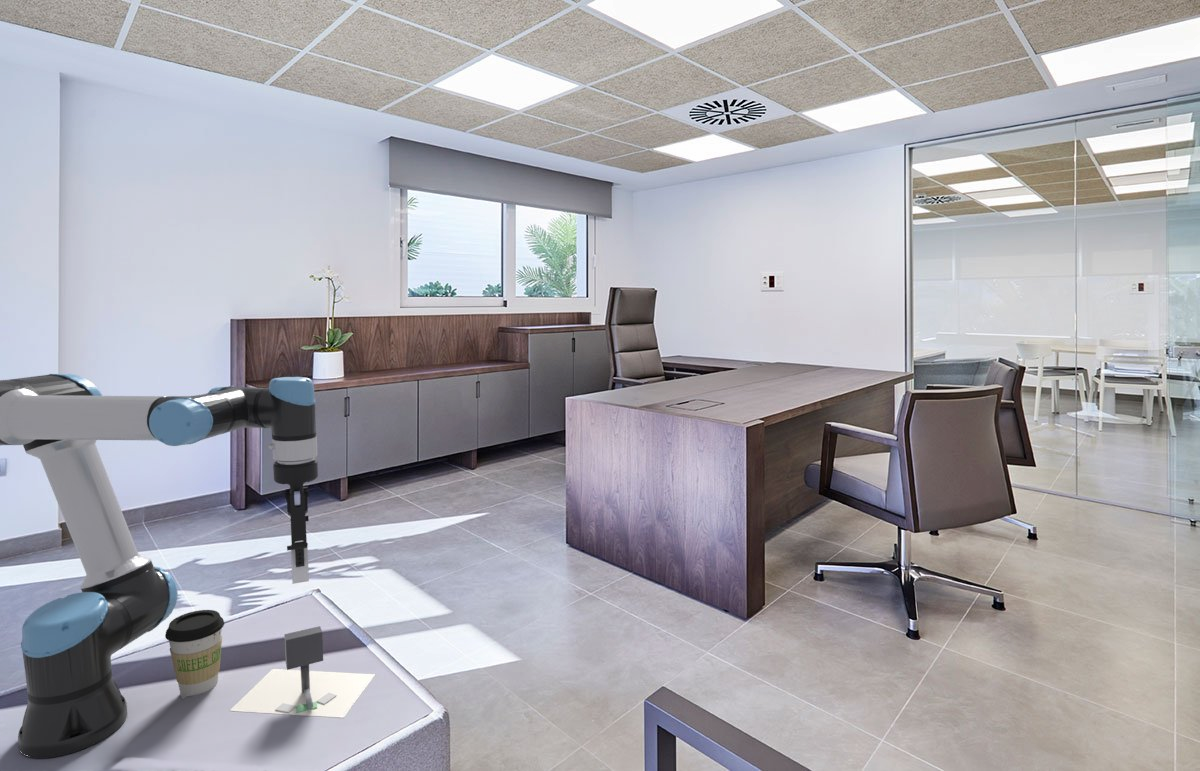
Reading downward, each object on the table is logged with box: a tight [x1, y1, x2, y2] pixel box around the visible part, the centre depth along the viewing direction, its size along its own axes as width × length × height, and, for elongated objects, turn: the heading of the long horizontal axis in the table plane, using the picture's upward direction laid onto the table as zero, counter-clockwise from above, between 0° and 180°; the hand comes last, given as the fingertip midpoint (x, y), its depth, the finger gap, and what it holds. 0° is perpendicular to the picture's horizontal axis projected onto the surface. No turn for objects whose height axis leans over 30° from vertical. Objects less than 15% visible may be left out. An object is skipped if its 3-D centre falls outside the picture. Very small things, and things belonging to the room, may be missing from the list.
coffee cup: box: [164, 609, 225, 700], centre depth 126 cm, size 10×10×15 cm
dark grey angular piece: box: [283, 625, 324, 709], centre depth 122 cm, size 8×6×12 cm
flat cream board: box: [229, 668, 376, 719], centre depth 125 cm, size 22×14×1 cm, turn 86°
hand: (300, 568), depth 122 cm, fingers open, 13 cm apart
